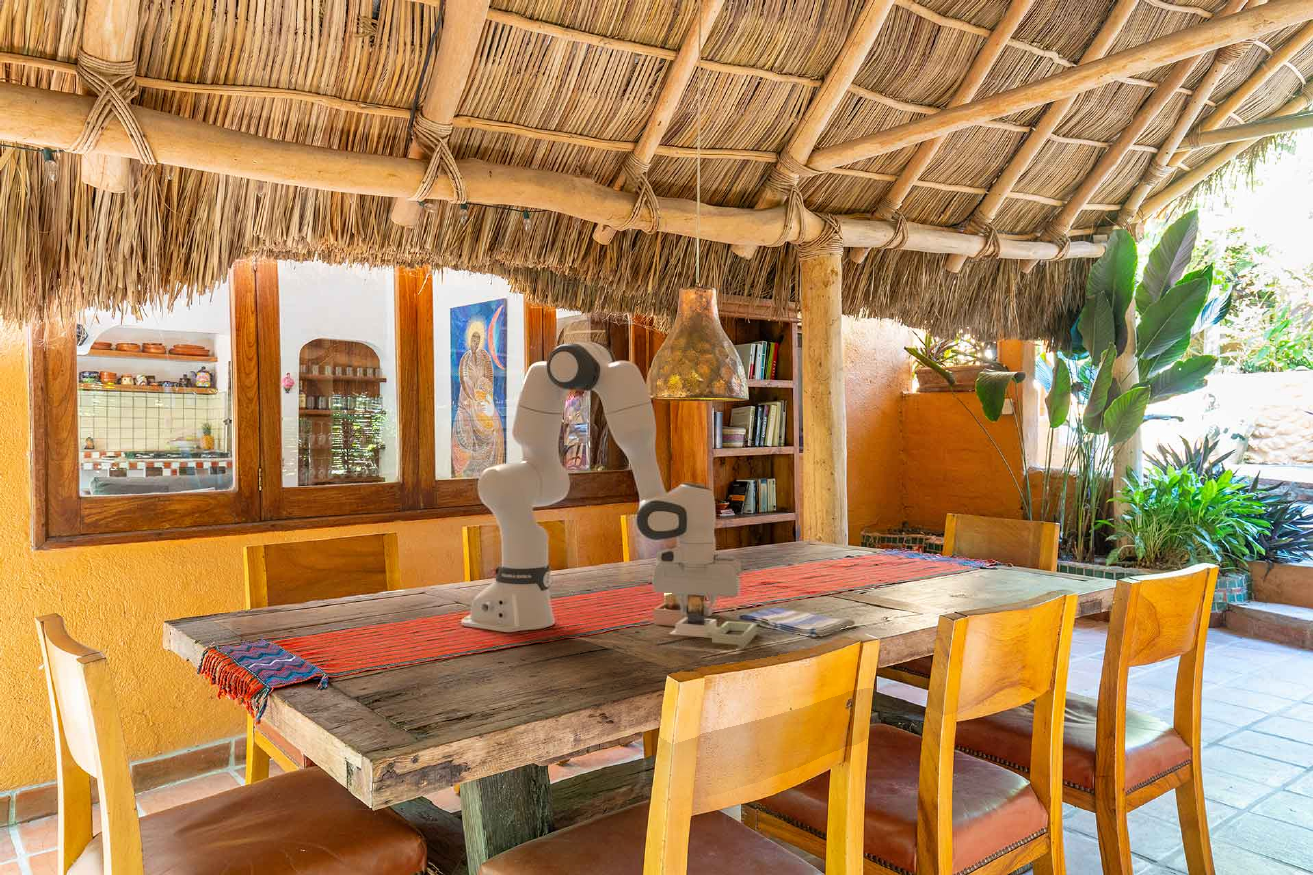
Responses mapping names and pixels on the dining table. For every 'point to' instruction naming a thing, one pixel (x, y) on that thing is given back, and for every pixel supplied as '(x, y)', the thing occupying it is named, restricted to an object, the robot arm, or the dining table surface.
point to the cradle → (695, 628)
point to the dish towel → (796, 621)
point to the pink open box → (667, 616)
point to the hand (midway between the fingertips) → (696, 614)
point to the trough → (739, 640)
